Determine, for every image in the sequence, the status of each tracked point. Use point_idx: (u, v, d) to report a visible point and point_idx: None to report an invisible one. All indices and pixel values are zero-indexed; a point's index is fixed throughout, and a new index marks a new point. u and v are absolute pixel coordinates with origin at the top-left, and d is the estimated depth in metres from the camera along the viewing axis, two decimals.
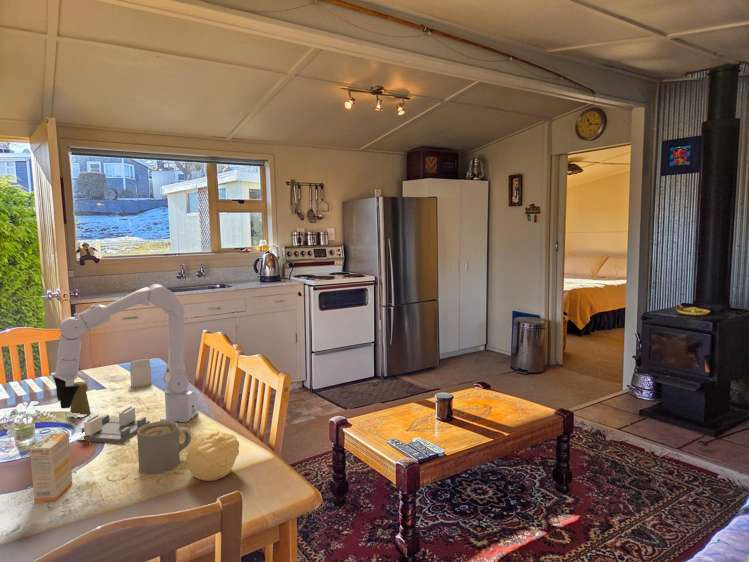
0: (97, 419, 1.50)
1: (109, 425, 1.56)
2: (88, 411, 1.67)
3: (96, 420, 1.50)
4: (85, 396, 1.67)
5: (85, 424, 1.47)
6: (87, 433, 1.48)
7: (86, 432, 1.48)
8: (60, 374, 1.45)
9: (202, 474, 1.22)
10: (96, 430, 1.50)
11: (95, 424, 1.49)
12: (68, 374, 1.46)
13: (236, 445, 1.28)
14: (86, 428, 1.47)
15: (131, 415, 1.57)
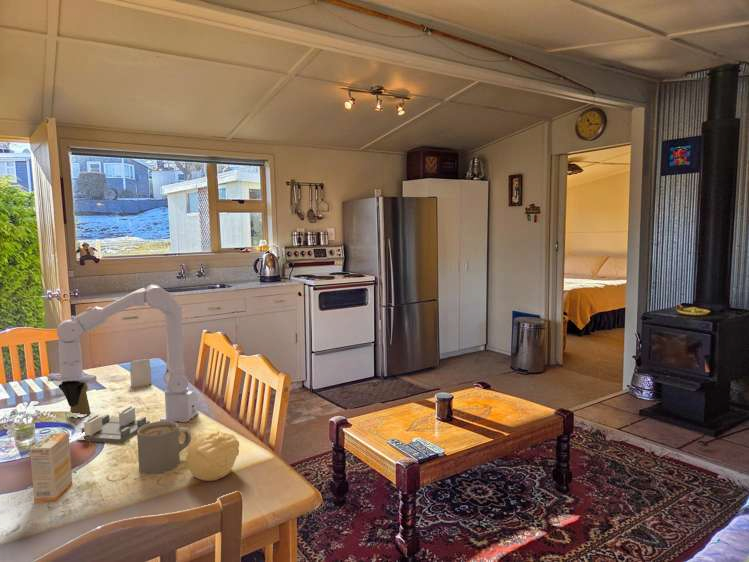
0: (97, 419, 1.50)
1: (109, 425, 1.56)
2: (88, 411, 1.67)
3: (96, 420, 1.50)
4: (85, 396, 1.67)
5: (85, 424, 1.47)
6: (87, 433, 1.48)
7: (86, 432, 1.48)
8: (73, 376, 1.47)
9: (202, 474, 1.22)
10: (96, 430, 1.50)
11: (95, 424, 1.49)
12: (80, 374, 1.49)
13: (236, 445, 1.28)
14: (86, 428, 1.47)
15: (131, 415, 1.57)
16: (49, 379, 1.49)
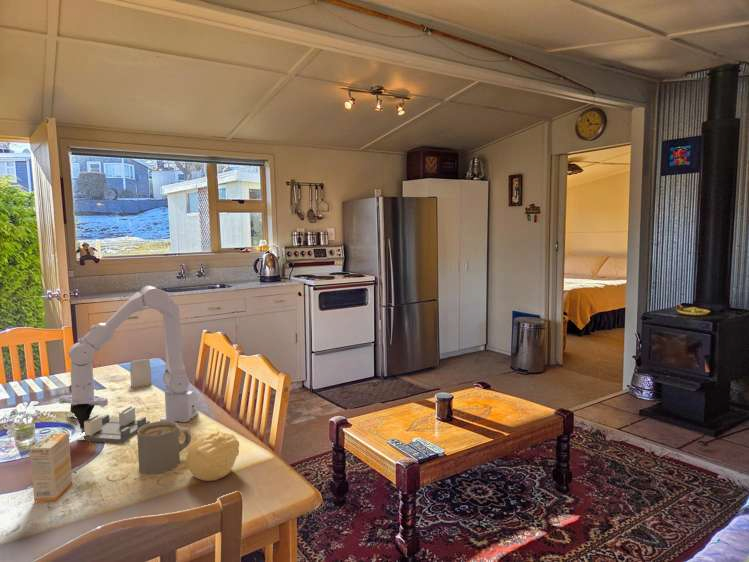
0: (97, 419, 1.50)
1: (109, 425, 1.56)
2: None
3: (96, 420, 1.50)
4: None
5: (85, 424, 1.47)
6: (87, 433, 1.48)
7: (86, 432, 1.48)
8: (85, 399, 1.47)
9: (202, 474, 1.22)
10: (96, 430, 1.50)
11: (95, 424, 1.49)
12: (91, 397, 1.49)
13: (236, 445, 1.28)
14: (86, 428, 1.47)
15: (131, 415, 1.57)
16: (60, 402, 1.50)
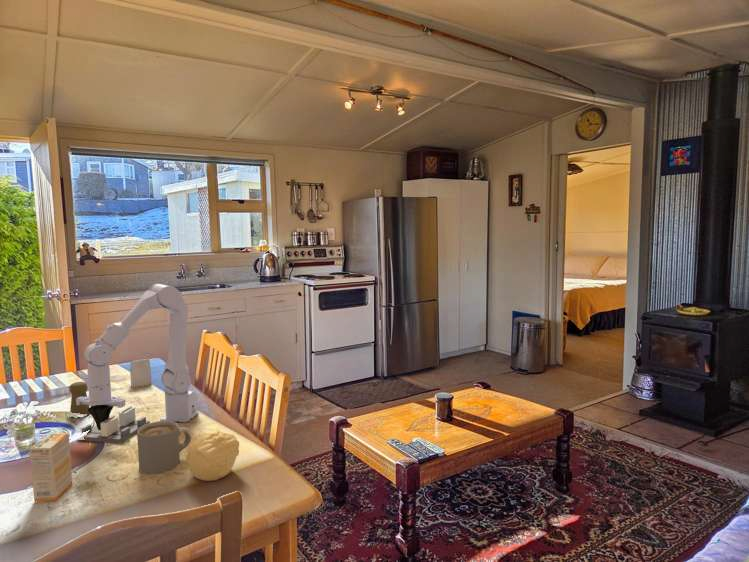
0: (113, 420, 1.49)
1: None
2: None
3: (112, 421, 1.49)
4: (85, 396, 1.67)
5: (101, 426, 1.47)
6: (104, 434, 1.47)
7: (102, 433, 1.47)
8: (102, 400, 1.46)
9: (202, 474, 1.22)
10: (112, 431, 1.49)
11: (112, 425, 1.49)
12: (109, 398, 1.48)
13: (236, 445, 1.28)
14: (103, 430, 1.47)
15: (131, 415, 1.57)
16: (78, 403, 1.49)
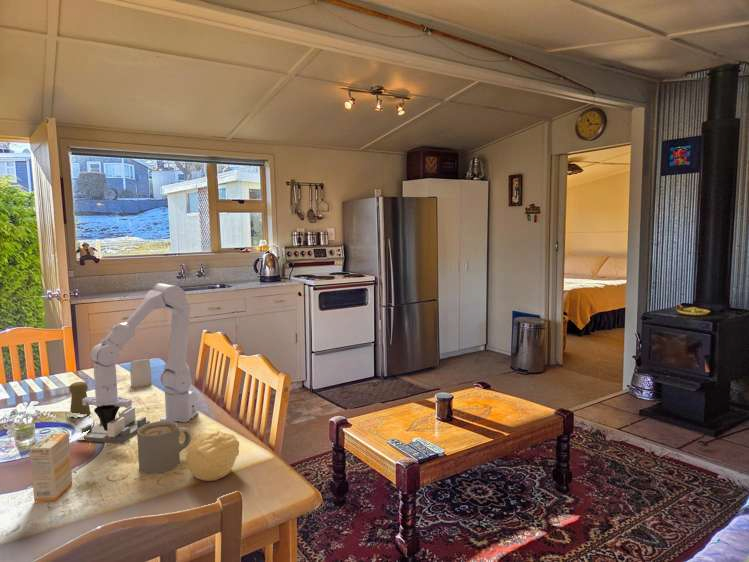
0: (120, 420, 1.49)
1: None
2: (88, 411, 1.67)
3: (119, 421, 1.49)
4: (85, 396, 1.67)
5: (108, 426, 1.46)
6: (110, 435, 1.46)
7: (109, 433, 1.46)
8: (109, 401, 1.46)
9: (202, 474, 1.22)
10: (119, 432, 1.49)
11: (118, 426, 1.48)
12: (115, 398, 1.48)
13: (236, 445, 1.28)
14: (110, 430, 1.46)
15: (131, 415, 1.57)
16: (84, 403, 1.48)
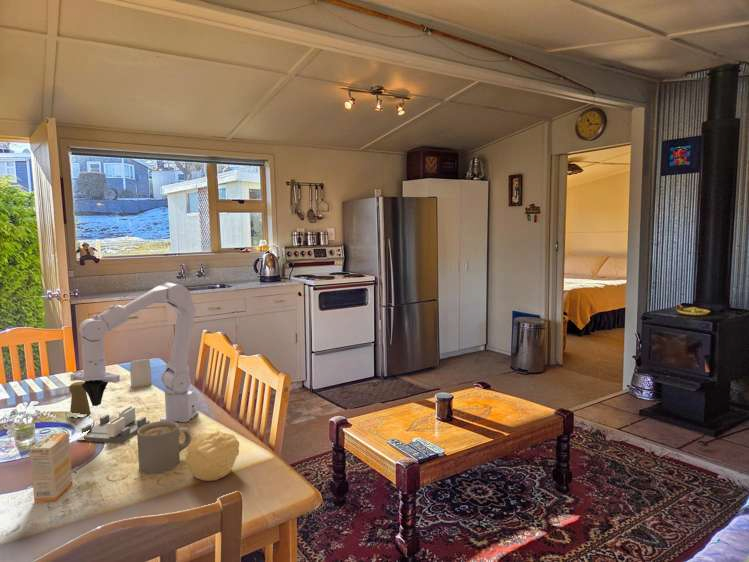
0: (120, 420, 1.49)
1: None
2: (88, 411, 1.67)
3: (119, 421, 1.49)
4: (85, 396, 1.67)
5: (108, 426, 1.46)
6: (110, 435, 1.46)
7: (109, 433, 1.46)
8: (97, 376, 1.46)
9: (202, 474, 1.22)
10: (119, 432, 1.49)
11: (118, 426, 1.48)
12: (103, 373, 1.47)
13: (236, 445, 1.28)
14: (110, 430, 1.46)
15: (131, 415, 1.57)
16: (72, 379, 1.48)
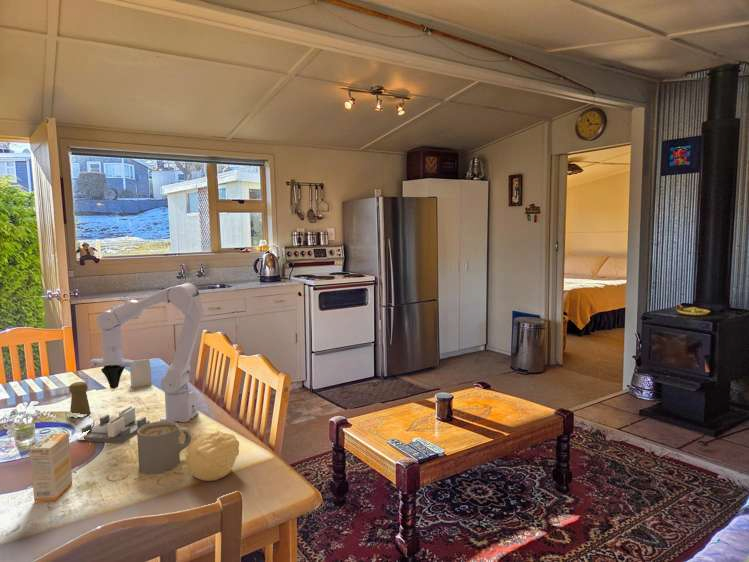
0: (120, 420, 1.49)
1: None
2: (88, 411, 1.67)
3: (119, 421, 1.49)
4: (85, 396, 1.67)
5: (108, 426, 1.46)
6: (110, 435, 1.46)
7: (109, 433, 1.46)
8: (115, 361, 1.61)
9: (202, 474, 1.22)
10: (119, 432, 1.49)
11: (118, 426, 1.48)
12: (120, 359, 1.63)
13: (236, 445, 1.28)
14: (110, 430, 1.46)
15: (131, 415, 1.57)
16: (92, 364, 1.63)
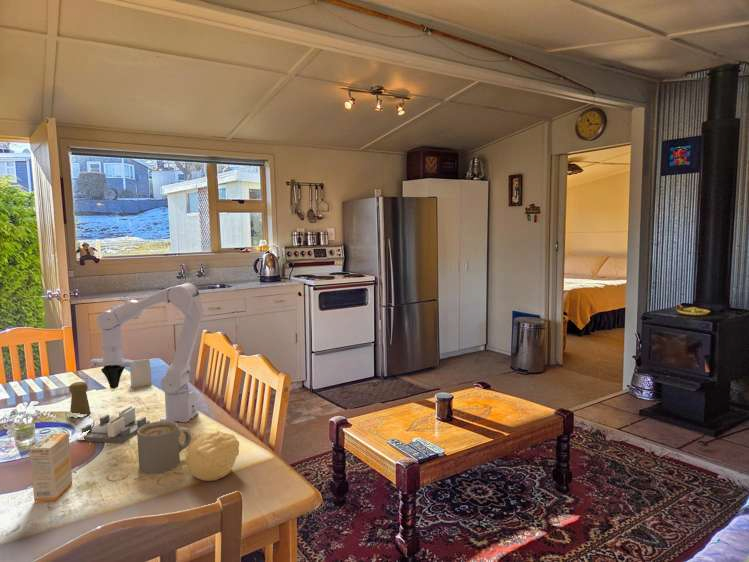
0: (120, 420, 1.49)
1: None
2: (88, 411, 1.67)
3: (119, 421, 1.49)
4: (85, 396, 1.67)
5: (108, 426, 1.46)
6: (110, 435, 1.46)
7: (109, 433, 1.46)
8: (115, 361, 1.61)
9: (202, 474, 1.22)
10: (119, 432, 1.49)
11: (118, 426, 1.48)
12: (120, 359, 1.63)
13: (236, 445, 1.28)
14: (110, 430, 1.46)
15: (131, 415, 1.57)
16: (92, 364, 1.63)
